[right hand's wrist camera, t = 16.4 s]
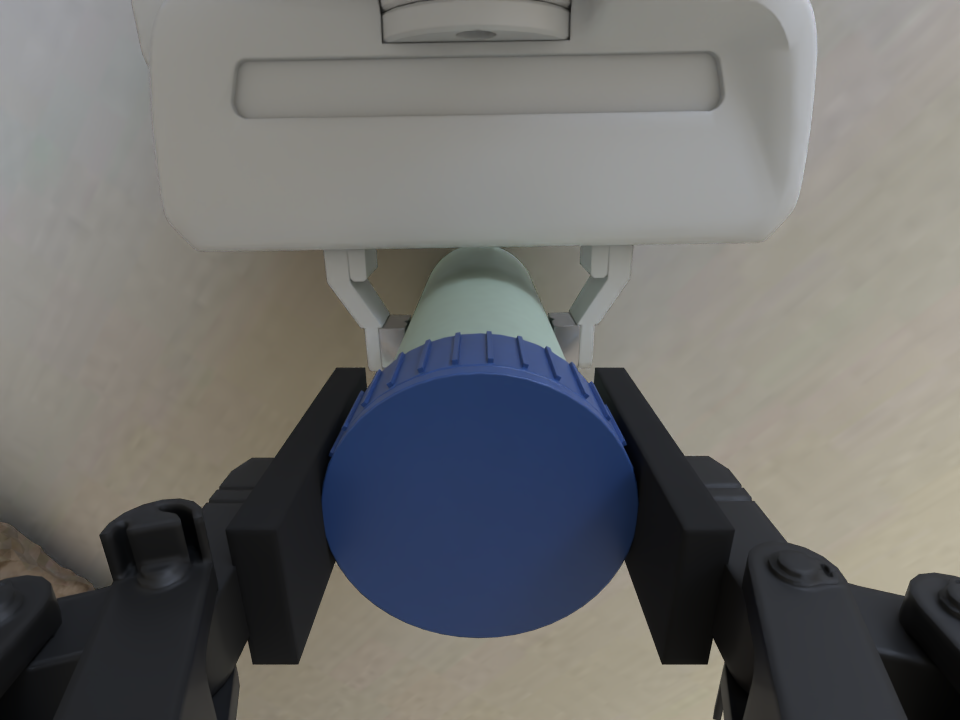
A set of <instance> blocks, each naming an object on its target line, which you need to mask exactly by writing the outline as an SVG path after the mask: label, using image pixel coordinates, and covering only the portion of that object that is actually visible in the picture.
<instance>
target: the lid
mask: <svg viewBox="0 0 960 720" xmlns="http://www.w3.org/2000/svg"><path fill="white" fill-rule="evenodd" d="M626 445H627V444H626V441H625V439H624V437H623V435H622V434H621V432H620V430H619V428H618V426H617V424H616V422H615V420H614V418H613V416H612V414H611V412H610V410H609V408H608V407H607V405H606V404H605V405H604V403H603V401H602V399H601V397H600V395H599V393H598V391H597V389H596V387H595V385H594V383H593V382H592V381H591V382H590V383H588V382H587V381H586V379H585V378H584V377H583V376H582V375H581V374H580V373H579V372H578V370H577V368H576V366H575V364H574V363H573V362H570V363H568V362H567V361H565V360H564V359H562V358H561V357H559V356H558V355H556V354H555V353H553V352H552V351H551V348H550V347H548V346H546V347H545V348H543V347H541V346H539V345H537V344H534V343H531V342H528V341H525V340H523V338H522V336H517V338H515V337H510V336H505V335H499V334H492V331H487V332H486V334H485V333H476V334H461V333H460V332H457V333H455V336H450V337H444V338H441V339H438V340H435V341H431V340H430V339H429V340H426V341H425V344H423V345H421V346H419V347H417V348H415V349H413V350H410V351H409V352H407V353H405V354H404V353H403V352H401V353H400V354H399V355H398V357H397V359H396V360H394V361H393V362H392V363H391V364H390V365H389V366H387V367H386V368H385V369H384V370H383V371H381V370H380V369H379V370H378V371H377V372H376V374H375V376H374V378H373V380H372V382H371V384H370V385H369V386H368V388H367V389H366V391H365V392H363V391H362V390H361V392H360V393H359V395H358V397H357V399H356V401H355V403H354V405H353V407H352V409H351V411H350V413H349V414H348V416H347V418H346V420H345V422H344V424H343V426H342V428H341V431H340V433H339V435H338V437H337V439H336V441H335V443H334V445H333V447H332V449H331V451H330V453H329V456H330V457H332V458H331V460H330V462H329V464H328V467H327V470H326V474H325V477H324V481H323V487H322V495H321V502H322V511H323V520H324V527H325V535H326V539H327V542H328V545H329V547H330V550H331V552H332V554H333V556H334V558H335V560H336V562H337V564H338V566H339V567H340V569H341V570H342V572H343V573H344V574H345V576H346V577H347V578H348V580H349V581H350V582H351V583H352V584H353V585H354V586H355V588H356V589H357V590H358V591H359V592H360V593H361V594H362V595H364V596H365V597H366V598H367V599H368V600H370V601H371V602H372V603H373V604H374V605H376V606H377V607H379V608H380V609H382V610H383V611H385V612H386V613H388V614H390V615H391V616H393V617H395V618H397V619H399V620H401V621H403V622H405V623H408V624H410V625H413V626H416V627H418V628H421V629H424V630H428V631H431V632H435V633H439V634H444V635H450V636H457V637H469V638H492V637H503V636H510V635H516V634H520V633H524V632H528V631H532V630H536V629H538V628H541V627H544V626H547V625H550V624H552V623H554V622H556V621H558V620H560V619H562V618H564V617H567V616H568V615H570V614H572V613H573V612H575V611H576V610H578V609H579V608H581V607H583V606H584V605H585V604H586V603H588V602H589V601H590V600H591V599H593V598H594V597H595V596H596V595H597V594H598V593H599V592H600V591H601V590H602V589H603V588H604V587H605V586H606V585H607V584H608V583H609V582H610V581H611V579H612V578H613V577H614V575H615V574H616V573H617V571H618V570H619V569H620V567H621V565H622V563H623V561H624V560H625V558H626V556H627V554H628V552H629V549H630V547H631V544H632V541H633V539H634V535H635V528H636V521H637V513H638V504H639V498H638V488H637V482H636V478H635V474H634V467H633V465H632V463H631V461H630V459H629V457H628V455H627V453H626V451H625V449H624V447H623V446H626Z"/></svg>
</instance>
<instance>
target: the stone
mask: <svg viewBox="0 0 960 720" xmlns="http://www.w3.org/2000/svg"><path fill="white" fill-rule="evenodd" d="M24 575H32V576H42V577H44V578H45V579H46V580H48V581H49V582H50V583H51V585H52V587H53V590H54V593H55V596H56V598H60V597H65V596H69V595H74V594H78V593H83V592H87V591H92V590H95V588H94V586H93V585H92V583H90V582H89V581H88V580H86V579H85V578H83V577H80V576H77V575H76V574H75V573H74V572H73V571H72V570H69V569H66V568H63V567H61V566H60V565H58V564H57V563H56V562H55V561H54V560H53V559H51V558H50V557H49V556H48V555H47V554H45V552H44V551H43V549H42V548H41V546H39V545H37V544H35V543H33V542H32V541H30V540H29V539H28V538H27V537H25V536H24V535H23V534H21V533H20V532H19V531H18V530H16V529H15V528H14V527H13V526H11V525H10V524H8V523H3V522H0V580H3V579H6V578H11V577H17V576H24Z"/></svg>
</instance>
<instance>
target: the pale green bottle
mask: <svg viewBox="0 0 960 720" xmlns="http://www.w3.org/2000/svg"><path fill="white" fill-rule="evenodd" d="M487 331H492V334H499V335H505V336H510V337H515V338H517V336H522V338H523V340H525V341H528V342H531V343H534V344H537V345H539V346H541V347H543V348H545V347H546V346H548V347H550V348H551V351H552V352H553V353H555V354H556V355H558V356H559V357H561V358H562V359H564V360H565V361H566V359H565V357H564V355H563V352H562V350H561V348H560V345H559V343H558V341H557V338H556V336H555V334H554V331H553V329H552V327H551V324H550V322H549V320H548V317H547V315H546V313H545V310H544V308H543V306H542V303H541V301H540V299H539V296H538V294H537V292H536V289H535V287H534V285H533V282H532V280H531V278H530V276H529V274H528V272H527V270H526V269H525V267H524V266H523V264H522V263H521V262H520V261H519V260H518V259H517V258H516V257H515V256H513V255H512V254H511V253H509V252H507V251H506V250H503V249H501V248H499V247H472V248H458V249H456V250H454V251H452V252H450V253H449V254H448V255H446V256H445V257H444V258H443V259H442V260H441V261H440V262H439V263H438V264H437V265H436V266H435V268H434V269H433V271H432V273H431V275H430V277H429V279H428V282H427V284H426V286H425V289H424V291H423V293H422V296H421V298H420V300H419V303H418V305H417V307H416V310H415V312H414V314H413V317H412V319H411V321H410V324H409V326H408V328H407V331H406V333H405V335H404V338H403V340H402V342H401V345H400V347H399V350H398V352H397V354H396V357H395V359H394V360H396V359H397V357H398V355H399V354H400V353H401V352H403V353H404V354H405V353H407V352H409V351H410V350H413V349H415V348H417V347H419V346H421V345H423V344H425V341H426V340H429V339H430V340H431V341H435V340H438V339H441V338H444V337H450V336H455V333H457V332H460V333H461V334H476V333H485V334H486V332H487Z"/></svg>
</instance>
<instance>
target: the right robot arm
mask: <svg viewBox="0 0 960 720" xmlns="http://www.w3.org/2000/svg"><path fill="white" fill-rule="evenodd" d="M594 385H595V387H596V389H597V391H598V393H599V395H600V397H601V399H602V401H603V403H604V405H605V404H606V405H607V407H608V408H609V410H610V412H611V414H612V416H613V418H614V420H615V422H616V424H617V426H618V428H619V430H620V432H621V434H622V435H623V437H624V439H625V441H626V444H627V445H626V446H623V447H624V449H625V451H626V453H627V455H628V457H629V459H630V461H631V463H632V465H633V467H634V474H635V478H636V482H637V488H638V498H639V504H638V513H637V521H636V528H635V535H634V539H633V541H632V544H631V547H630V549H629V552H628V554H627V556H626V558H625V563H626V565H627V568H628V571H629V574H630V577H631V579H632V582H633V585H634V588H635V591H636V593H637V596H638V599H639V602H640V604H641V607H642V610H643V613H644V616H645V618H646V621H647V624H648V627H649V629H650V632H651V635H652V638H653V641H654V643H655V646H656V649H657V652H658V654H659V657H660V660H661V663H662V664H708V660H709V655H710V650H711V645H712V640H713V639H714V641H715V643H716V645H717V647H718V649H719V651H720V653H721V655H722V657H723V659H724V661H725V662H724V667H723V672H722V676H721V681H720V685H719V690H718V694H717V699H716V703H715V708H714V715H713V719H715V720H721V716H722V712H723V713H724V720H960V577H956V576H952V575H946V574H939V573H926V574H919V575H917V576H916V577H915V578H913V579H912V580H911V581H910V583H909V586H908V589H907V591H906V594H905V596H902V595H897V594H893V593H888V592H884V591H879V590H874V589H870V588H865V587H861V586H857V585H853V584H850V583H848V582H847V580H846V579H845V578H844V576H843V575H842V573H841V572H840V571H839V569H838V568H837V567H836V566H834V565H833V564H832V563H831V562H829V561H828V560H827V559H826V558H824V557H823V556H821V555H819V554H817V553H815V552H813V551H811V550H809V549H807V548H805V547H801V546H798V545H794V544H791V543H787V541H786V540H785V539H784V538H783V536H782V535H781V534H780V533H779V531H778V530H777V529H776V528H775V526H774V525H773V524H772V523H771V521H770V520H769V519H768V518H767V516H766V515H765V514H764V513H763V511H762V510H761V509H760V508H759V506H758V505H757V504H756V503H755V501H752V498H751V496H750V495H749V494H748V493H747V491H746V490H745V489H744V488H741V484H740V483H739V481H738V480H737V479H736V478H735V476H734V475H733V474H732V473H731V471H730V470H729V469H728V468H726V467H724V466H723V465H721V464H720V463H718V462H717V461H715V460H714V459H712V458H711V457H709V456H684V454H683V453H682V452H681V450H680V449H679V447H678V446H677V444H676V443H675V441H674V440H673V438H672V437H671V436H670V434H669V433H668V431H667V430H666V428H665V427H664V425H663V424H662V422H661V421H660V420H659V418H658V417H657V415H656V414H655V412H654V411H653V409H652V408H651V406H650V405H649V404H648V402H647V401H646V399H645V398H644V396H643V395H642V393H641V392H640V390H639V389H638V388H637V386H636V385H635V383H634V382H633V380H632V379H631V377H630V376H629V374H628V373H627V372H626V370H625V369H624V368H595V376H594ZM366 389H367V384H366V372H365V368H336V369H335V371H334V372H333V374H332V375H331V376H330V378H329V379H328V381H327V382H326V384H325V385H324V387H323V388H322V390H321V391H320V392H319V394H318V395H317V397H316V398H315V400H314V401H313V403H312V404H311V406H310V407H309V408H308V410H307V411H306V413H305V414H304V416H303V417H302V419H301V420H300V422H299V423H298V424H297V426H296V427H295V429H294V430H293V432H292V433H291V435H290V436H289V438H288V439H287V440H286V442H285V443H284V445H283V446H282V448H281V449H280V451H279V452H278V454H277V455H276V456H275V458H251V459H249V460H248V461H246V462H245V463H243V464H242V465H240V466H239V467H237V468H236V469H234V470H233V471H231V473H230V474H229V475H228V476H227V478H226V479H225V480H224V482H223V483H222V484H221V485H220V487H219V490H216V492H215V493H214V494H213V495H212V497H211V498H210V499H209V503H206V504H205V505H204V507H203V508H201V507H200V506H199V505H197V504H196V503H195V502H194V501H189V500H184V499H166V500H159V501H156V502H152V503H148V504H144V505H141V506H139V507H137V508H134V509H132V510H130V511H127V512H125V513H124V514H122V515H121V516H119V517H118V518H116V519H115V520H113V521H112V522H110V523H109V524H108V525H107V526H106V528H105V529H104V530H103V531H102V532H101V534H100V539H101V542H102V545H103V549H104V552H105V555H106V558H107V562H108V565H109V568H110V571H111V575H112V578H113V583H112V586H108V587H105V588H101V589H96V590H92V591H87V592H83V593H78V594H74V595H69V596H65V597H60V598H56V596H55V593H54V590H53V587H52V585H51V583H50V582H49V581H48V580H46V579H45V578H44V577H42V576H32V575H24V576H17V577H11V578H6V579H3V580H0V720H236V714H237V705H238V696H239V687H240V684H239V677H238V672H237V667H236V663H237V661H238V659H239V656H240V654H241V652H242V650H243V648H244V646H245V644H246V642H247V640H248V644H249V648H250V653H251V658H252V663H253V664H299V661H300V658H301V655H302V653H303V650H304V647H305V644H306V641H307V639H308V636H309V633H310V630H311V628H312V625H313V622H314V619H315V616H316V614H317V611H318V608H319V605H320V603H321V600H322V597H323V594H324V591H325V589H326V586H327V583H328V580H329V577H330V575H331V572H332V569H333V566H334V564H335V561H336V560H335V558H334V556H333V554H332V552H331V550H330V547H329V545H328V542H327V539H326V535H325V527H324V520H323V511H322V502H321V495H322V487H323V481H324V477H325V474H326V470H327V467H328V464H329V462H330V460H331V458H332V457H330V456H329V453H330V451H331V449H332V447H333V445H334V443H335V441H336V439H337V437H338V435H339V433H340V431H341V428H342V426H343V424H344V422H345V420H346V418H347V416H348V414H349V413H350V411H351V409H352V407H353V405H354V403H355V401H356V399H357V397H358V395H359V393H360V392H361V390H362V391H363V392H365V391H366Z"/></svg>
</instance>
